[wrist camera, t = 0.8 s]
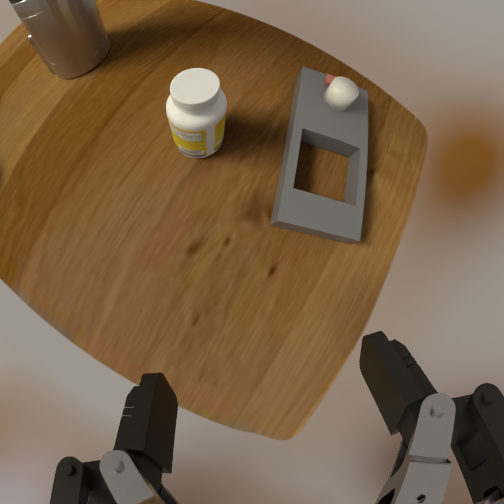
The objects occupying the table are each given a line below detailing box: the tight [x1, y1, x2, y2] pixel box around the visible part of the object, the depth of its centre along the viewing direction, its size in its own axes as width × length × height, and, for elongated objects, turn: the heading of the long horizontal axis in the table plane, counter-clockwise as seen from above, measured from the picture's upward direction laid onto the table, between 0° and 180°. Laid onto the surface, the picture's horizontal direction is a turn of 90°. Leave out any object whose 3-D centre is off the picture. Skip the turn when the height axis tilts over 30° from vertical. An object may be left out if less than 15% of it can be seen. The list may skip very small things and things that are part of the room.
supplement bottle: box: [166, 68, 227, 158], centre depth 23 cm, size 5×5×10 cm
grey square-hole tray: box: [270, 67, 368, 243], centre depth 27 cm, size 9×20×6 cm, turn 169°
